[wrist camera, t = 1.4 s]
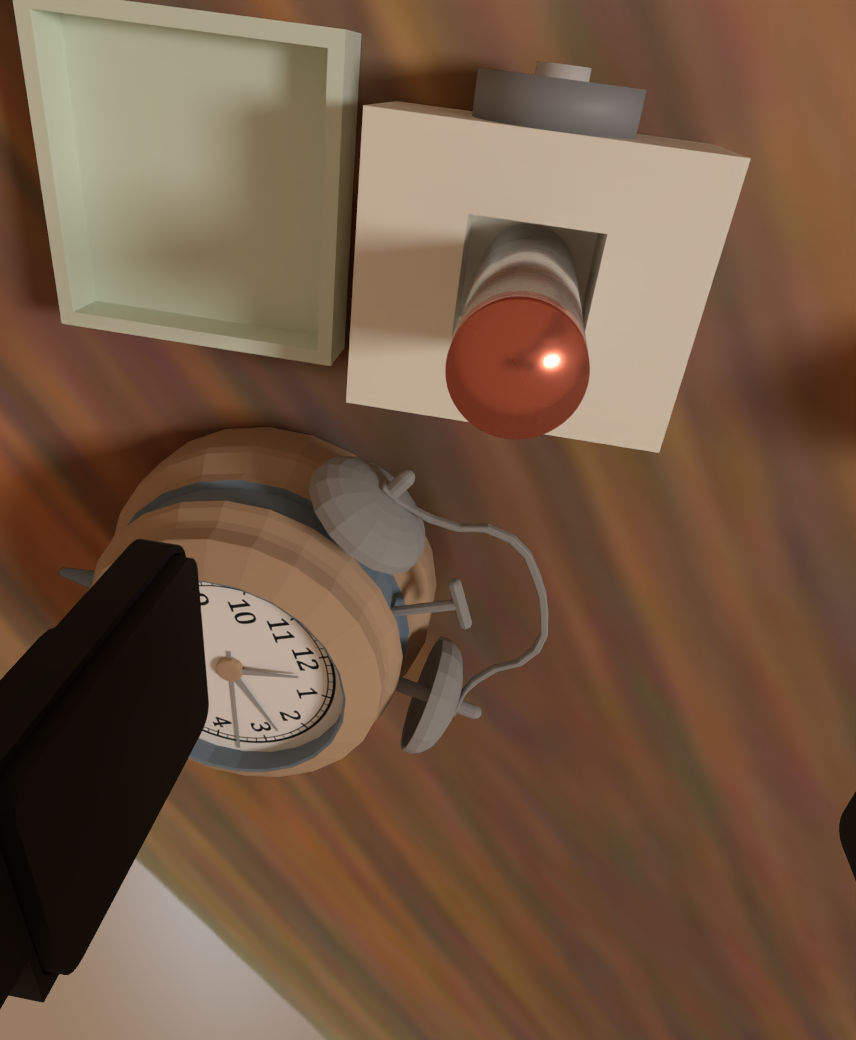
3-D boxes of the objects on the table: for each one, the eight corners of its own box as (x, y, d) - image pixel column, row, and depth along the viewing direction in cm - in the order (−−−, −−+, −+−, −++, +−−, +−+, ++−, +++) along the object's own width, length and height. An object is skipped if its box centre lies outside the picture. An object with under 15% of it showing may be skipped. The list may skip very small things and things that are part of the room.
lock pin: (486, 217, 27) (455, 290, 18) (584, 232, 27) (605, 313, 17) (472, 315, 29) (437, 427, 19) (563, 328, 29) (572, 449, 19)
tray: (51, -8, 28) (10, -15, 26) (361, 33, 27) (345, 29, 25) (92, 308, 34) (61, 323, 32) (344, 348, 33) (330, 366, 31)
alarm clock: (-40, 550, 31) (505, 463, 25) (80, 454, 38) (515, 372, 33) (135, 818, 39) (576, 797, 33) (204, 694, 47) (570, 660, 41)
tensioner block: (400, 45, 27) (366, 37, 22) (728, 88, 26) (772, 90, 21) (376, 353, 33) (346, 402, 28) (641, 394, 33) (659, 452, 27)
